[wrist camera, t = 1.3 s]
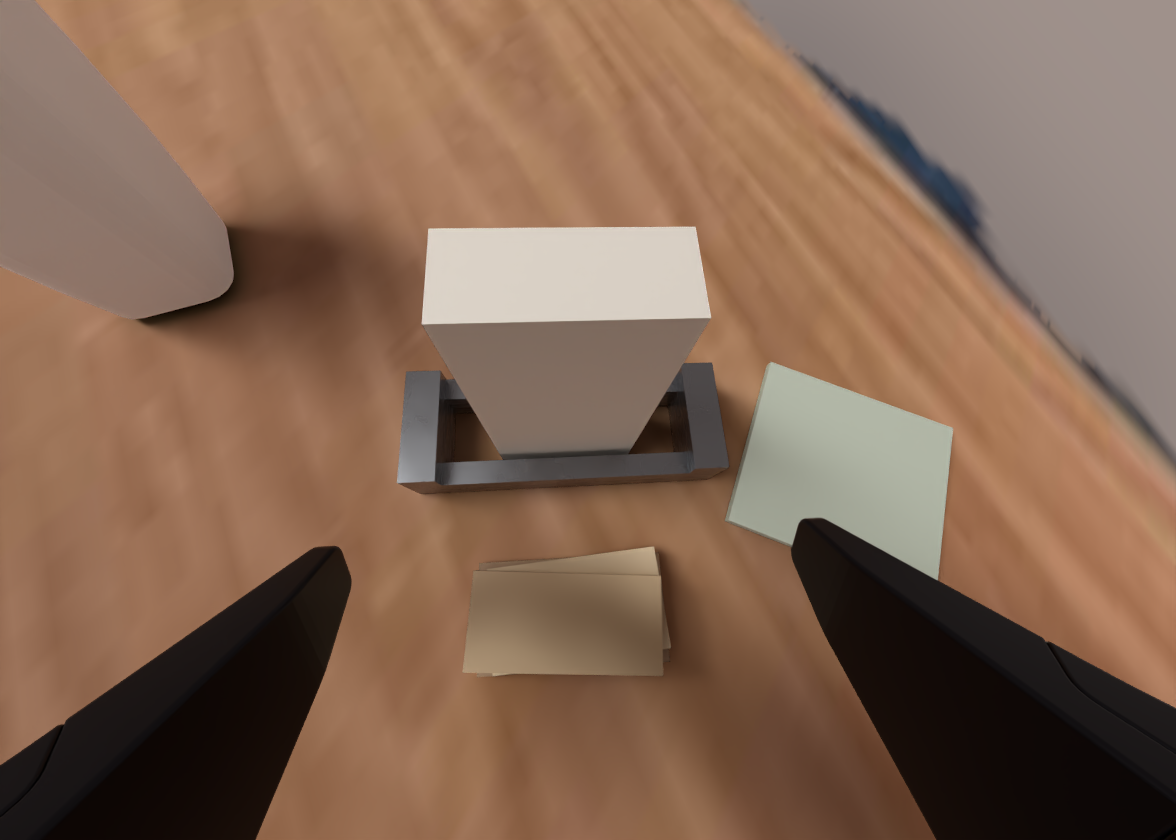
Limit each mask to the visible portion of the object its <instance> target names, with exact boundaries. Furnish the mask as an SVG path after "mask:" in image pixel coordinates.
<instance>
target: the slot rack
mask: <svg viewBox="0 0 1176 840" xmlns="http://www.w3.org/2000/svg"><path fill="white" fill-rule="evenodd" d="M658 406H668V408H669V416H670V424H671V432H672V440H673V448H674V452H671V453H649V454H627V455H604V456H582V457H560V458H538V459H516V460H493V461H471V462H454V445H455V421H456V414H461V413H475V412H474V410H473V409H472V407H471V405H470V404H469V402H468V401H467V399H466V397H465V396H464V394H463V392H462V391H461V389H460V387H459V386H458V384H457V382H456V381H455V379H453V380H446V378H445V377H444V375H443V374H442V372H441V371H413V372H406V381H405V393H404V405H403V417H402V429H401V442H400V454H399V466H398V478H397V483H398V484H400V485H402V486H404V487H407V488H409V489H411V490H413V491H415V492H417V493H420V494H430V493H450V492H470V491H490V490H510V489H530V488H550V487H570V486H590V485H610V484H630V483H650V482H670V481H690V480H707V479H709V478H711V477H713V476H714V475H716V474H718V473H720V472H722V471H723V470H725V469H727V468H729V462H728V456H727V450H726V444H725V438H724V432H723V426H722V420H721V414H720V408H719V402H718V396H717V390H716V384H715V377H714V371H713V365H712V363H683V365H682V366H681V368H680V370H679V371H678V373H677V375H676V376H675V378H674V380H673V381H672V383H671V384H670V386H669V388H668V389H667V391H666V393H665V394H664V396H663V398H662V399H661V401H660V402H659V404H658Z"/></svg>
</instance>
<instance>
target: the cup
mask: <svg viewBox="0 0 1176 840" xmlns="http://www.w3.org/2000/svg"><path fill="white" fill-rule="evenodd" d="M0 267H3V268H5V269H7V270H9V271H12V272H14V273H16V274H19V275H21V276H23V277H26V278H28V279H30V280H33V281H35V282H37V283H40V284H42V285H44V286H47V287H49V288H51V289H54V290H56V291H58V292H61V293H63V294H66V295H68V296H71V297H73V298H76V299H78V300H81V301H83V302H86V303H88V304H91V305H93V306H96V307H98V308H101V309H103V310H106V311H108V312H111V313H113V314H116V315H118V316H121V317H124V318H129V319H140V318H146V317H150V316H154V315H158V314H161V313H165V312H169V311H173V310H177V309H181V308H184V307H188V306H192V305H196V304H200V303H204V302H208V301H210V300H213V299H215V298H217V297H220V296H221V295H222V294H223V293H224V292H226V291H227V290H228V289H229V287H230V285H231V284H232V282H233V276H234V271H233V264H232V258H231V252H230V246H229V240H228V234H227V229H226V226H225V224H224V222H223V221H222V220H221V218H220V217H219V216H218V214H217V213H216V212H215V210H214V209H213V208H212V207H211V205H210V204H209V203H208V201H207V200H206V199H205V197H204V196H203V195H202V194H201V192H200V191H199V190H198V188H197V187H196V186H195V184H194V183H193V182H192V181H191V179H190V178H189V177H188V176H187V174H186V173H185V172H184V171H183V169H182V168H181V167H180V166H179V165H178V163H177V162H176V161H175V160H174V158H173V157H172V156H171V155H170V154H169V152H168V151H167V150H166V149H165V147H164V146H163V145H162V144H161V143H160V141H159V140H158V139H157V138H156V136H155V135H154V134H153V133H152V132H151V130H150V129H149V128H148V127H147V125H146V124H145V123H144V122H143V121H142V120H141V119H140V117H139V116H138V115H137V114H136V113H135V112H134V111H133V109H132V108H131V107H130V106H129V105H128V104H127V103H126V102H125V100H124V99H123V98H122V97H121V96H120V95H119V94H118V92H117V91H116V90H115V89H114V88H113V87H112V86H111V84H110V83H109V82H108V81H107V80H106V79H105V78H104V77H103V75H102V74H101V73H100V72H99V71H98V70H97V69H96V67H95V66H94V65H93V64H92V63H91V62H90V61H89V59H88V58H87V57H86V56H85V55H84V54H83V53H82V51H81V50H80V49H79V48H78V47H77V46H76V45H75V44H74V43H73V41H72V40H71V39H70V38H69V37H68V36H67V35H66V34H65V33H64V32H63V31H62V29H61V28H60V27H59V26H58V25H57V24H56V23H55V22H54V21H53V20H52V18H51V17H50V16H49V15H48V14H47V13H46V12H45V11H44V10H43V9H42V8H41V6H40V5H39V4H38V3H37V2H36V1H35V0H0Z"/></svg>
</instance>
